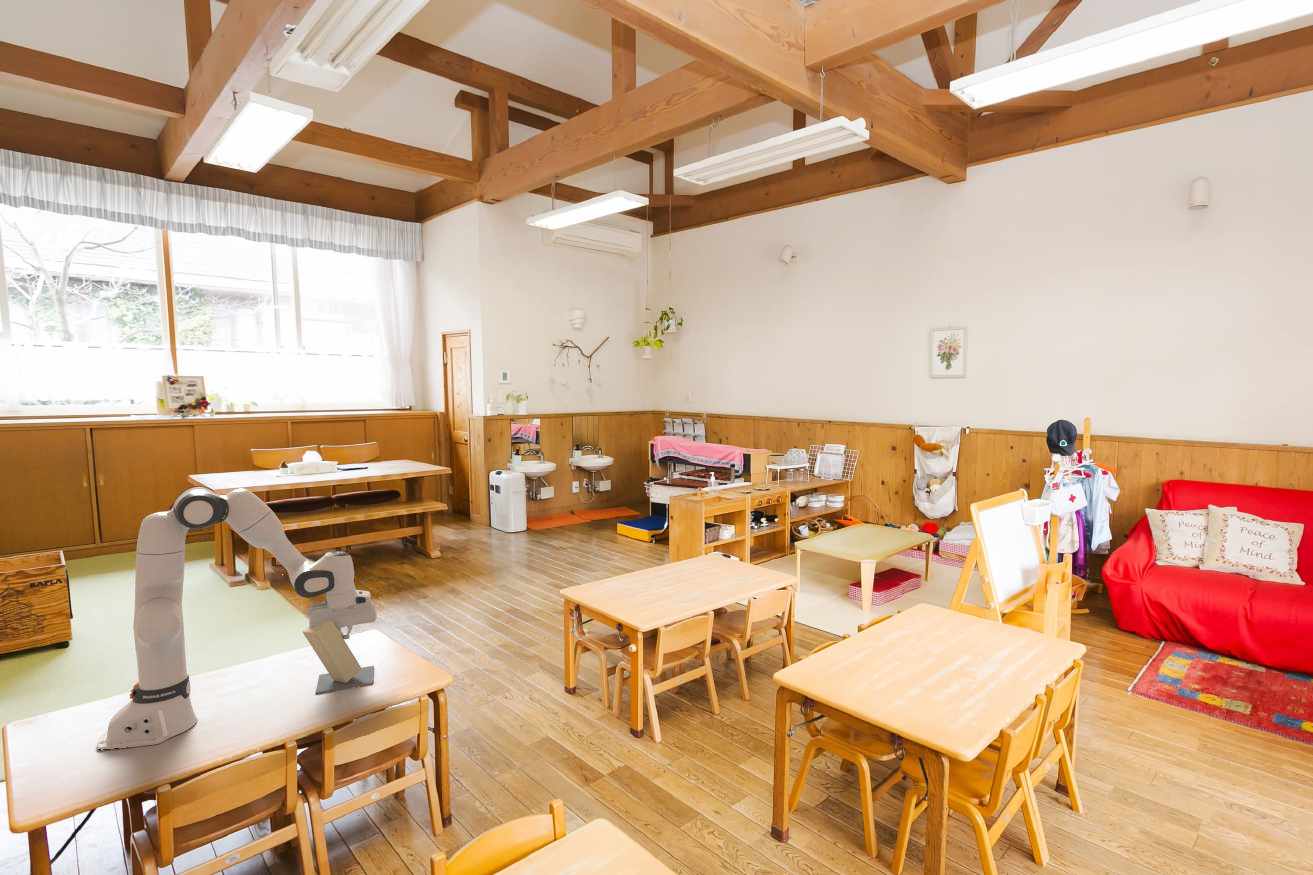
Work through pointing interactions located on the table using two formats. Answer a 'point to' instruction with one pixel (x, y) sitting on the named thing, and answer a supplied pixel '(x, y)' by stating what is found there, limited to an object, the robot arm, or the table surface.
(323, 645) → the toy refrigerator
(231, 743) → the table surface
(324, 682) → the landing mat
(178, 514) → the robot arm
